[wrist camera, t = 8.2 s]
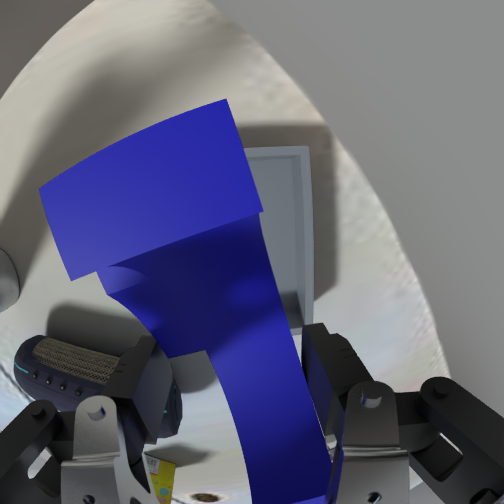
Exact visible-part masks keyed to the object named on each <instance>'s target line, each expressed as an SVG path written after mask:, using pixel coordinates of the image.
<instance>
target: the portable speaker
mask: <svg viewBox="0 0 504 504" xmlns="http://www.w3.org/2000/svg"><path fill="white" fill-rule="evenodd" d="M120 358H121V357H117V356H112V355H108V354H104V353H100V352H96V351H93V350H89V349H85V348H82V347H78V346H75V345H71V344H68V343H65V342H62V341H59V340H56V339H53V338H50V337H46V336H43V335H37V336H34V337H32V338H30V339H27V340H26V341H25V342H24V343H22V344H21V346H20V347H19V349H18V351H17V353H16V355H15V359H14V374H15V378H16V380H17V382H18V384H19V385H20V387H21V388H22V389H23V390H24V391H25V392H26V393H27V394H28V395H30V396H31V397H32V398H33V399H35V400H40V399H46V400H49V401H51V402H52V403H53V404H54V406H55V407H56V409H57V410H59V411H61V412H64V411H76V409H77V407H78V406H79V404H80V403H81V402H82V401H84V400H85V399H87V398H89V397H93V396H99V395H100V393H101V392H102V390H103V388H104V386H105V384H106V382H107V381H108V379H109V377H110V375H111V373H112V372H113V370H114V368H115V366H116V365H117V363H118V361H119V359H120ZM181 419H182V399H181V393H180V390H179V388H178V386H177V384H176V382H175V379H174V376H173V378H172V384H171V388H170V391H169V395H168V399H167V402H166V406H165V410H164V414H163V418H162V422H161V426H160V430H159V434H158V438H168V437H171V436H174V435H176V434H177V433H178V429H179V426H180V422H181Z"/></svg>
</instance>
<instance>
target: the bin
mask: <svg viewBox="0 0 504 504" xmlns="http://www.w3.org/2000/svg"><path fill="white" fill-rule="evenodd" d="M243 149H244V152H245V155H246V158H247V161H248V164H249V167H250V170H251V173H252V176H253V179H254V182H255V185H256V188H257V192H258V195H259V198H260V201H261V204H262V207H263V210H264V212H261V213H259V217H260V223H261V228H262V233H263V237H264V241H265V245H266V249H267V252H268V256H269V260H270V263H271V267H272V270H273V274H274V277H275V281H276V284H277V288H278V291H279V294H280V298H281V301H282V304H283V308H284V311H285V314H286V318H287V321H288V324H289V327H290V331H291V334H292V336H293V335H301V334H302V327H303V325H308V324H313V305H314V238H313V206H312V185H311V168H310V154H309V146H274V147H254V148H243Z"/></svg>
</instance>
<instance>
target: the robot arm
mask: <svg viewBox="0 0 504 504" xmlns="http://www.w3.org/2000/svg"><path fill="white" fill-rule="evenodd" d="M18 296H19V282H18V277H17V274H16V270H15V268H14V266H13V263H12V262H11V260H10V258H9V257H8V255H7V254H6V253H5V252H4V251H2V250H1V249H0V314H1V313H2V312H3V311H5V310H6V309H8V308H9V307H10V306H12V305H13V304H15V303H16V302H17V299H18ZM301 363H302V370H303V373H304V376H305V379H306V382H307V386H308V389H309V392H310V395H311V398H312V401H313V404H314V407H315V410H316V413H317V416H318V419H319V422H320V425H321V428H322V431H323V434H324V436H328V435H332V434H334V435H335V438H336V441H337V442H336V446H335V450H334V456H333V462H332V468H331V473H330V478H329V483H328V488H327V492H326V495H325V499H324V502H323V504H409V492H410V481H409V466H410V467H411V468H412V469H413V470H414V471H415V472H416V473H417V474H418V475H419V477H420V478H421V479H422V480H423V481H424V482H425V483H426V484H427V485H428V486H429V487H430V488H431V489H432V490H433V491H434V493H435V494H436V495H437V496H438V497H439V498H440V499H441V500H442V501H443V502H444V503H445V504H504V418H503V417H502V416H500V415H499V414H498V413H496V412H495V411H494V410H492V409H491V408H489V407H488V406H487V405H485V404H484V403H483V402H481V401H480V400H479V399H477V398H476V397H475V396H473V395H472V394H471V393H469V392H468V391H467V390H465V389H464V388H463V387H461V386H460V385H458V384H457V383H456V382H454V381H453V380H451V379H449V378H446V377H432V378H430V379H428V380H426V381H425V382H424V383H423V384H422V386H421V389H420V391H417V392H403V393H396V392H394V391H393V390H392V388H391V387H390V386H388V385H387V384H385V383H383V382H379V381H374V380H373V378H372V377H371V375H370V374H369V372H368V370H367V369H366V367H365V366H364V364H363V363H362V361H361V360H360V358H359V357H357V354H356V352H355V351H354V349H353V348H352V346H351V344H350V343H349V341H348V340H347V339H346V338H344V337H342V336H341V335H339V334H338V333H336V334H329V332H328V330H327V329H326V327H325V325H324V324H323V323H316V324H308V325H303V327H302V350H301ZM172 378H173V374H172V367H171V363H170V360H169V359H168V358H167V357H166V355H165V353H164V352H163V350H162V349H161V347H160V345H159V344H158V342H157V340H155V338H154V337H153V336H152V335H143V336H142V337H141V338H140V340H139V342H138V344H137V346H136V348H132V347H131V348H130V349H129V350H127V351H126V352H125V353H124V354H122V356H121V358H120V359H119V361H118V363H117V365H116V366H115V368H114V370H113V372H112V373H111V375H110V377H109V379H108V381H107V382H106V384H105V386H104V388H103V390H102V392H101V393H100V395H99V396H93V397H89V398H87V399H85V400H84V401H82V402H81V403H80V404H79V406H78V407H77V409H76V411H64V412H58V410H57V409H56V407H55V406H54V404H53V403H52V402H51V401H49V400H46V399H40V400H36V401H33V402H32V403H30V404H29V405H28V406H27V407H26V408H25V409H24V410H23V411H22V412H21V413H20V414H19V415H18V416H17V417H16V418H15V419H14V420H13V421H12V422H11V423H10V424H9V425H8V426H7V427H6V428H5V429H4V430H3V431H2V432H1V433H0V504H160V503H159V502H158V500H157V497H156V494H155V491H154V488H153V484H152V480H151V477H150V473H149V469H148V465H147V461H146V457H145V454H144V452H143V448H144V444H153V445H156V442H157V438H158V434H159V430H160V426H161V422H162V418H163V414H164V410H165V406H166V402H167V399H168V395H169V391H170V388H171V384H172ZM440 433H442V434H443V435H444V436H445V437H447V438H448V439H449V440H450V441H451V442H452V443H453V444H454V445H455V446H456V447H458V448H459V449H460V450H461V452H462V454H463V455H461V454H460V453H459V452H458V451H457V450H456V449H455V448H454V447H453V446H452V445H451V444H449V443H448V442H447V441H446V440H445V439H444V438H443V437H442V436H441V435H440ZM44 449H46V450H47V451H48V452H49V453H50V455H51V457H50V458H49V459H48V461H47V462H46V463H45V465H44V466H43V467H42V468H41V470H40V471H39V472H38V473H37V475H36V476H35V477H34V478H31V479H29V477H28V468H29V467H30V465H31V464H32V463H33V462H34V461H35V460H36V458H37V457H38V456H39V455H40V453H41V452H42V451H43V450H44Z"/></svg>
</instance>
